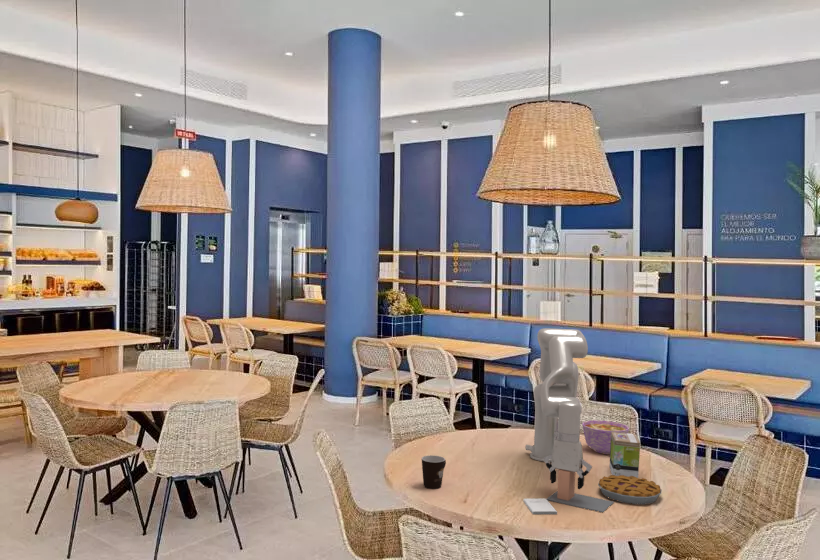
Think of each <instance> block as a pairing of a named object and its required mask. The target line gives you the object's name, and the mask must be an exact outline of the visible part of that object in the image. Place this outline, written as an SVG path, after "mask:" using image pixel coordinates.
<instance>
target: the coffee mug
mask: <svg viewBox="0 0 820 560" xmlns="http://www.w3.org/2000/svg"><path fill="white" fill-rule="evenodd" d="M446 464H447V462H446V458H445V457H444V456H440V455H433V454H432V455H424V456H422V457H421V466H422V467H421V469H422V480H423V482H422V483H423V487H424V488H426V489H429V490H436V489H441V488H442V485H443V484H442V483H443V477H444V469H445V467H446Z"/></svg>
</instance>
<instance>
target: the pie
mask: <svg viewBox="0 0 820 560" xmlns="http://www.w3.org/2000/svg"><path fill="white" fill-rule="evenodd" d="M597 486H598V487H599V488H600V491H601V493H602V495H603V496H604V495H605V496H607V497H606V498H608V497H609V498H608V499H610V498H611V499H610V500H612V499H614V500H613V501H616V500H618V501H617V502H620V501H621V502H620V503H624V502H625V504H631V503H632V504H631V505H649V504H652V503H655V502H656V501H657V500H658V497H659V496H660V495H661V494H662V489H661V486H660V484H656V482H655V481H653V480H648V479H647V478H643V477H642V478H640V477H638V478H636V477H634V476H630V477H627V476H624V475H620V476H615V475H612V474H610V475H609V476H606V475H605V476H603V477H602V478H600V479H599V481H598V483H597ZM605 496H604V497H605Z"/></svg>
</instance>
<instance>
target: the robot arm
mask: <svg viewBox="0 0 820 560" xmlns="http://www.w3.org/2000/svg"><path fill="white" fill-rule="evenodd" d="M537 342H538V344H539V345H538V346H539V347H540V362H539V379H540V381H541V382H542V383H538V384H537V385H536V386H535V387H534V389H533V397H534V410H535V411H534V436H533V438H534V439H533V442H534V443H533V445H531V444H525V446H524V447H525V448H524V449H525V451H530V453H529V458H531V459H533V460H536V461H538V462H544V463H545V467H546V468H547V470H548V471H549V472H550V473H549V474H550V475H549V480H550V484H554V483H556V482H557V470H559V469H561V470H566V471H571V472H575V473H576V474H577V475H578V478H577V490H581V489H583V487H585V476H587V475H588V474H589V473H590V472H591V470H592V469H593V465H591V464H590V463H589V462H587V461H586V460H585V459H584V454H583V453H584V451H583V447H582V446H583V445H582V441H581V440H580V432H581V413H582V412H583V411H582V410H583V407H582V406H583V405H582V402H581V401H580V399H579V398H577V396H578V395H577V393H578V385H579V366H578V365H577V363H576V362H574V359H584V358H586V357H587V355H588V351H589V346H588V342H587V339H586V336H585V335H584V334H583V332H582V331H581V330H579V329H571V328H570V329H569V328H566V329H565V328H553V327H552V328H548V327H547V328H545V327H544V328H540V329H539V330H538V331H537ZM583 467H585V468H586V469H585V470H583Z"/></svg>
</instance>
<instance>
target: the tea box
mask: <svg viewBox="0 0 820 560" xmlns="http://www.w3.org/2000/svg"><path fill="white" fill-rule="evenodd" d="M640 451H641V441H640V440H639V438H638V435H636V433H629V432H628V433H617V432H611V446H610V454H609V465H608V466H609V470H610V473H611V475H615V476H620V475H624V476H627V477H630V476H634V477H636V478H639V471H640V470H639V469H640V454H641V453H640Z"/></svg>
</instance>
